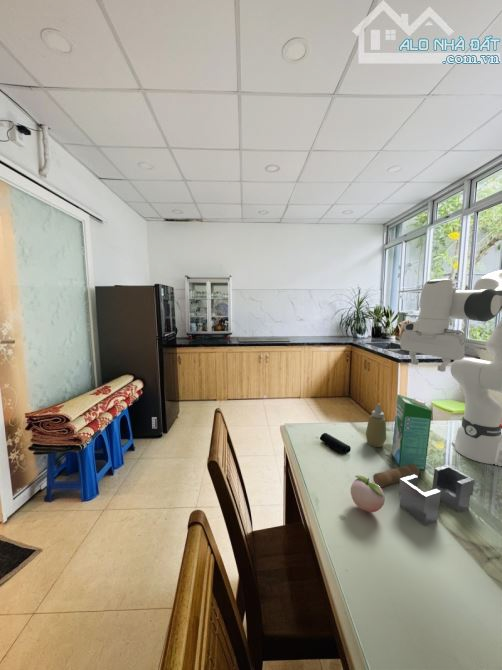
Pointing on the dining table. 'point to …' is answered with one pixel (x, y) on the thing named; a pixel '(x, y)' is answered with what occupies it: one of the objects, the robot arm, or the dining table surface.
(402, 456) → the milk carton
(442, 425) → the dining table surface
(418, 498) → the bracket
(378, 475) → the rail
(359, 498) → the decorative fruit
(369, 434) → the squeeze bottle
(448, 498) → the bracket
